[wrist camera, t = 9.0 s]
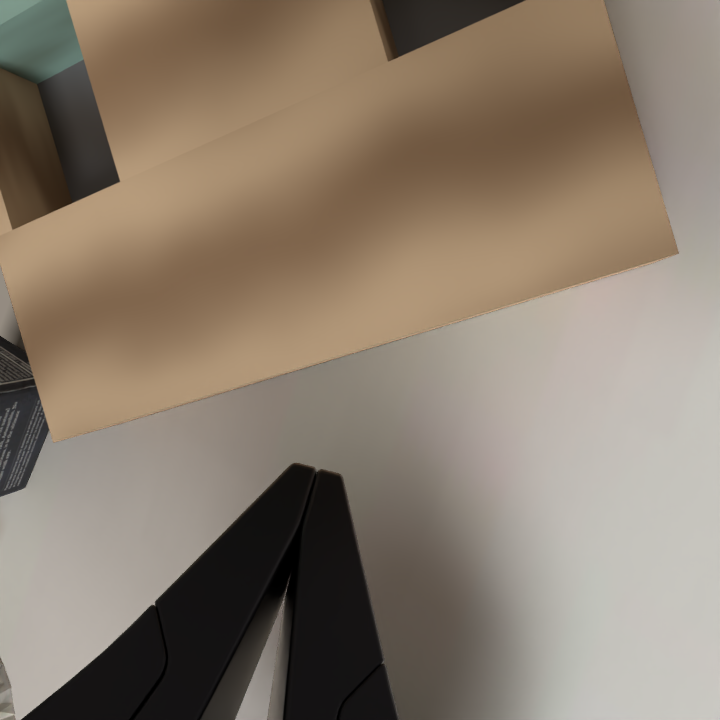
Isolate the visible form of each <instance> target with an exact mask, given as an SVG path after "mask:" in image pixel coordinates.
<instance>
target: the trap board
mask: <svg viewBox="0 0 720 720" xmlns="http://www.w3.org/2000/svg"><path fill="white" fill-rule="evenodd" d="M678 253H679V252H678V249H677V246H676V242H675V239H674V235H673V232H672V229H671V225H670V222H669V219H668V215H667V212H666V208H665V205H664V202H663V198H662V195H661V192H660V188H659V185H658V182H657V178H656V175H655V171H654V168H653V165H652V161H651V158H650V155H649V151H648V148H647V145H646V141H645V138H644V134H643V131H642V128H641V124H640V121H639V118H638V114H637V111H636V107H635V104H634V101H633V97H632V94H631V91H630V87H629V84H628V81H627V77H626V74H625V70H624V67H623V64H622V60H621V57H620V54H619V50H618V47H617V44H616V40H615V37H614V33H613V30H612V27H611V23H610V20H609V17H608V13H607V10H606V6H605V3H604V0H0V266H1V269H2V272H3V276H4V279H5V283H6V286H7V289H8V292H9V296H10V299H11V303H12V306H13V309H14V313H15V316H16V319H17V323H18V326H19V330H20V333H21V336H22V340H23V343H24V346H25V350H26V353H27V356H28V360H29V363H30V366H31V370H32V373H33V376H34V380H35V383H36V386H37V390H38V393H39V396H40V400H41V403H42V407H43V410H44V413H45V417H46V420H47V423H48V427H49V430H50V433H51V437H52V440H53V443H54V442H58V441H61V440H65V439H68V438H72V437H75V436H79V435H82V434H86V433H90V432H93V431H97V430H100V429H104V428H107V427H111V426H114V425H118V424H122V423H125V422H128V421H132V420H135V419H138V418H141V417H145V416H148V415H151V414H155V413H158V412H161V411H165V410H168V409H171V408H175V407H178V406H181V405H185V404H188V403H191V402H194V401H198V400H201V399H204V398H208V397H211V396H214V395H218V394H221V393H224V392H228V391H231V390H234V389H238V388H241V387H244V386H247V385H251V384H254V383H257V382H261V381H264V380H267V379H271V378H274V377H277V376H281V375H284V374H287V373H291V372H294V371H297V370H301V369H304V368H307V367H310V366H314V365H317V364H320V363H324V362H327V361H330V360H334V359H337V358H340V357H344V356H347V355H350V354H354V353H357V352H360V351H363V350H367V349H370V348H373V347H377V346H380V345H383V344H387V343H390V342H393V341H397V340H400V339H403V338H407V337H410V336H413V335H416V334H420V333H423V332H426V331H430V330H433V329H436V328H440V327H443V326H446V325H450V324H453V323H456V322H460V321H463V320H466V319H469V318H473V317H476V316H479V315H483V314H486V313H489V312H493V311H496V310H499V309H503V308H506V307H509V306H513V305H516V304H519V303H522V302H526V301H529V300H532V299H536V298H539V297H542V296H546V295H549V294H552V293H556V292H559V291H562V290H566V289H569V288H572V287H575V286H579V285H582V284H585V283H589V282H592V281H595V280H599V279H602V278H605V277H609V276H612V275H615V274H619V273H622V272H625V271H628V270H632V269H635V268H638V267H642V266H645V265H648V264H652V263H654V262H657V261H660V260H662V259H665V258H668V257H670V256H673V255H676V254H678Z"/></svg>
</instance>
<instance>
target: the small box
mask: <svg viewBox="0 0 720 720" xmlns="http://www.w3.org/2000/svg"><path fill="white" fill-rule="evenodd" d="M48 430H49V427H48V423H47V420H46V417H45V413H44V410H43V407H42V403H41V400H40V396H39V393H38V390H37V386H36V383H35V380H34V376H33V373H32V370H31V366H30V363H29V360H28V356H27V353H26V352H24V351H23V350H21V349H20V348H18V347H16V346H15V345H13V344H12V343H10V342H9V341H7V340H6V339H4V338H3V337H1V336H0V497H1V496H4V495H7V494H10V493H13V492H16V491H18V490H21V489H23V488H25V486H26V484H27V482H28V480H29V477H30V475H31V472H32V470H33V467H34V465H35V462H36V460H37V457H38V455H39V452H40V450H41V448H42V445H43V443H44V440H45V438H46V435H47V432H48Z"/></svg>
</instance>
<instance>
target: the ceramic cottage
mask: <svg viewBox="0 0 720 720" xmlns="http://www.w3.org/2000/svg"><path fill="white" fill-rule="evenodd" d="M14 715H15V711H14V707H13V699H12V691H11V685H10V682H9V680H8V677H7V674H6V671H5V668H4V665H3V663H2V661H1V659H0V720H15V716H14Z"/></svg>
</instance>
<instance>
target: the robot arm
mask: <svg viewBox="0 0 720 720" xmlns="http://www.w3.org/2000/svg"><path fill="white" fill-rule="evenodd" d="M316 473H317V474H316ZM289 578H290V579H289ZM288 582H289V583H288ZM287 585H288V587H287ZM286 589H287V592H286ZM285 592H286V596H285V601H284V607H283V613H282V620H281V627H280V634H279V641H278V648H277V655H276V662H275V669H274V676H273V683H272V690H271V697H270V704H269V711H268V718H267V720H399V716H398V712H397V708H396V704H395V700H394V697H393V693H392V689H391V684H390V680H389V676H388V671H387V667H386V665H385V664H383V663H384V655H383V650H382V646H381V642H380V637H379V633H378V629H377V624H376V620H375V615H374V611H373V607H372V602H371V598H370V594H369V589H368V585H367V580H366V576H365V572H364V567H363V563H362V558H361V554H360V550H359V545H358V541H357V537H356V532H355V528H354V523H353V519H352V515H351V510H350V506H349V501H348V497H347V493H346V488H345V484H344V480H343V477H342V475H341V474H339V473H335V472H331V471H327V470H323V469H320V470H318V471H316V469H315V468H314V467H312V466H308V465H304V464H300V463H293V464H291V465H290V466H289V467H288V468H287V469H286V470H285V471H284V472H283V473H282V474H281V475H280V476H279V477H278V478H277V479H276V480H275V481H274V482H273V483H272V484H271V485H270V486H269V487H268V488H267V489H266V490H265V491H264V492H263V493H262V494H261V495H260V496H259V497H258V498H257V499H256V500H255V501H254V502H253V503H252V504H251V505H250V506H249V507H248V508H247V509H246V510H245V511H244V512H243V513H242V514H241V515H240V516H239V517H238V518H237V519H236V520H235V521H234V522H233V523H232V524H231V525H230V526H229V527H228V528H227V529H226V531H225V532H224V533H223V534H222V535H221V536H220V537H219V538H218V539H217V540H216V541H215V542H214V543H213V544H212V545H211V546H210V547H209V548H208V549H207V550H206V551H205V552H204V553H203V554H202V555H201V556H200V557H199V558H198V559H197V560H196V561H195V562H194V563H193V564H192V565H191V566H190V567H189V568H188V569H187V570H186V571H185V572H184V573H183V574H182V575H181V576H180V577H179V578H178V579H177V580H176V581H175V582H174V583H173V584H172V585H171V586H170V587H169V588H168V589H167V590H166V591H165V592H164V593H163V594H162V595H161V596H160V597H159V598H158V599H157V600H156V601H155V605H151V606H150V607H149V608H148V609H147V610H146V611H145V612H144V613H143V614H142V615H141V616H140V617H139V618H138V619H137V620H136V621H135V622H134V623H133V624H132V625H131V626H130V627H129V628H128V629H127V630H126V631H125V632H124V633H122V634H121V635H120V636H119V637H118V638H117V639H116V640H115V641H114V642H113V643H112V644H111V645H110V646H109V647H108V648H107V649H106V650H105V651H103V652H102V653H101V654H100V655H99V656H98V657H96V658H95V659H94V660H93V661H92V662H91V663H89V664H88V665H87V666H86V667H85V668H84V669H82V670H81V671H80V672H79V673H78V674H77V675H75V676H74V677H73V678H72V679H71V680H69V681H68V682H67V683H66V684H64V685H63V686H62V687H61V688H60V689H58V690H57V691H56V692H55V693H53V694H52V695H51V696H50V697H48V698H47V699H46V700H45V701H44V702H42V703H41V704H40V705H39V706H37V707H36V708H35V709H34V710H32V711H31V712H30V713H29V714H27V715H26V716H25V717H24V718H23V719H21V720H235V718H236V716H237V713H238V711H239V708H240V706H241V703H242V701H243V698H244V696H245V693H246V691H247V688H248V686H249V683H250V681H251V679H252V676H253V674H254V671H255V669H256V666H257V664H258V661H259V659H260V656H261V654H262V651H263V649H264V646H265V644H266V641H267V639H268V636H269V634H270V632H271V629H272V627H273V624H274V622H275V619H276V617H277V614H278V612H279V609H280V606H281V604H282V601H283V598H284V595H285Z"/></svg>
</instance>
